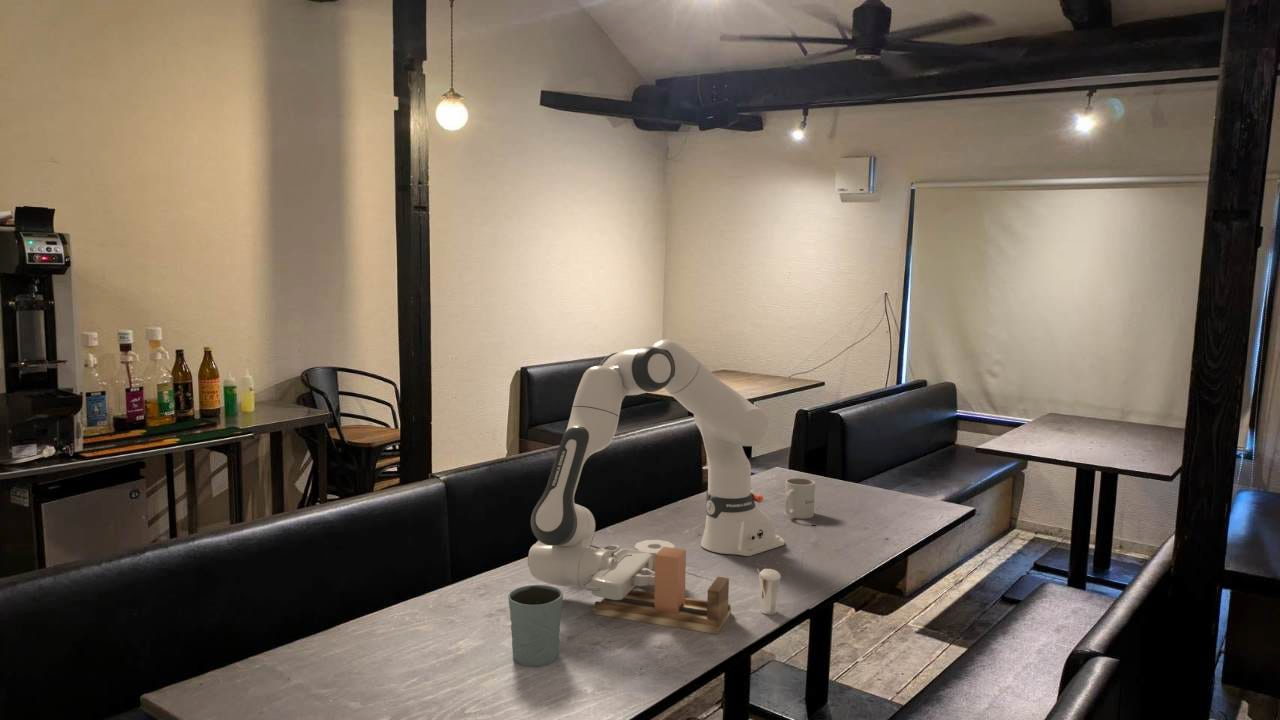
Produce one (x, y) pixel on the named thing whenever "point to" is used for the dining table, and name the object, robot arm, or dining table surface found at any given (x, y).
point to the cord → (654, 606)
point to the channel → (707, 623)
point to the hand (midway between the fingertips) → (659, 579)
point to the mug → (799, 498)
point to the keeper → (670, 579)
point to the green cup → (535, 624)
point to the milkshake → (769, 590)
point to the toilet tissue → (652, 552)
